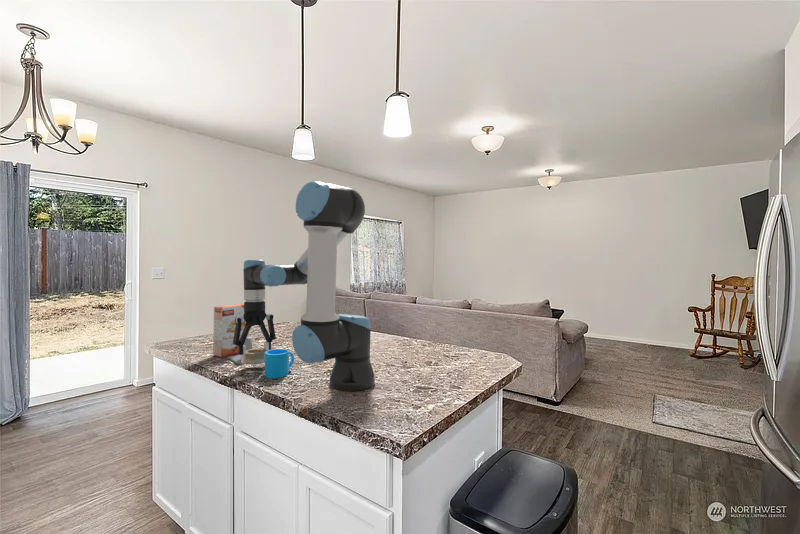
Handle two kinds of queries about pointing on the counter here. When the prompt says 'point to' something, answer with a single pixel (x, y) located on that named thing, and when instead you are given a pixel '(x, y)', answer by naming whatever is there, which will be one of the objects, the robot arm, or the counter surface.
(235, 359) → the post plate
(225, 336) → the cracker box
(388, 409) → the counter surface
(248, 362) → the ring
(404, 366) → the counter surface
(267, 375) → the mug
